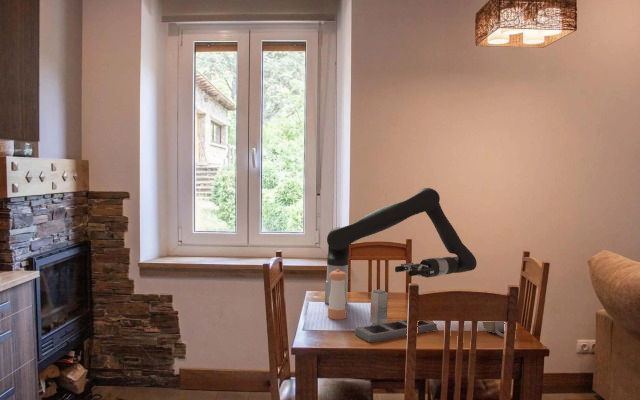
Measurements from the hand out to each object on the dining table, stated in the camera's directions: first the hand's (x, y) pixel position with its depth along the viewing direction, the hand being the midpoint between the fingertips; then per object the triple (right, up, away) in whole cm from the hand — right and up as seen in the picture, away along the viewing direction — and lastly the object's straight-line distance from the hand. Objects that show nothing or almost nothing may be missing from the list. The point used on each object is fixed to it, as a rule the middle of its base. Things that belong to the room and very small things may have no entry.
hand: (402, 271), depth 188 cm
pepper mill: (-26, -19, +3) cm, 32 cm away
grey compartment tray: (-5, -20, -15) cm, 25 cm away
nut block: (-10, -19, -4) cm, 22 cm away
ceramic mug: (+34, -21, -12) cm, 42 cm away
